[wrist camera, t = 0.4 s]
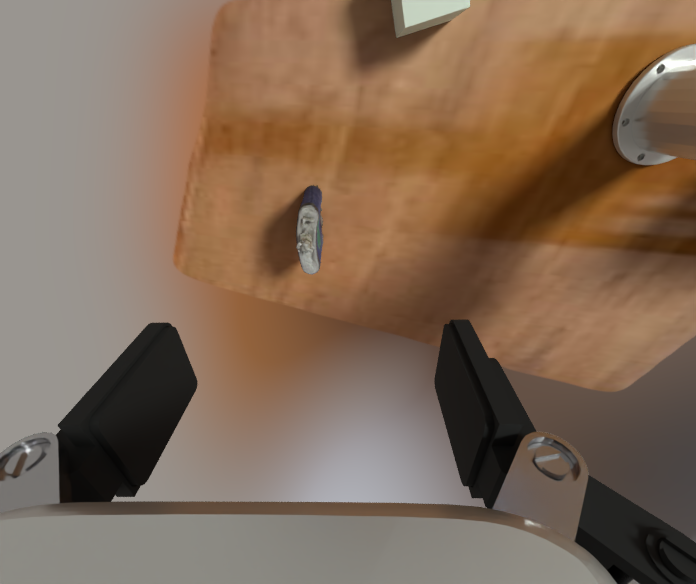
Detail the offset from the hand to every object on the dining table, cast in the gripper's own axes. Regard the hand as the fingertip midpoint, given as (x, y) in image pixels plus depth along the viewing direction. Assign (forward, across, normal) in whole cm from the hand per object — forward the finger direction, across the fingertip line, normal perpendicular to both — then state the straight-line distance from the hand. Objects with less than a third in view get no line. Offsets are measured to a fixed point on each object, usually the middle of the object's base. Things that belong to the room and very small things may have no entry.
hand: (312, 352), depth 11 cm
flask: (+36, +4, +7) cm, 37 cm away
